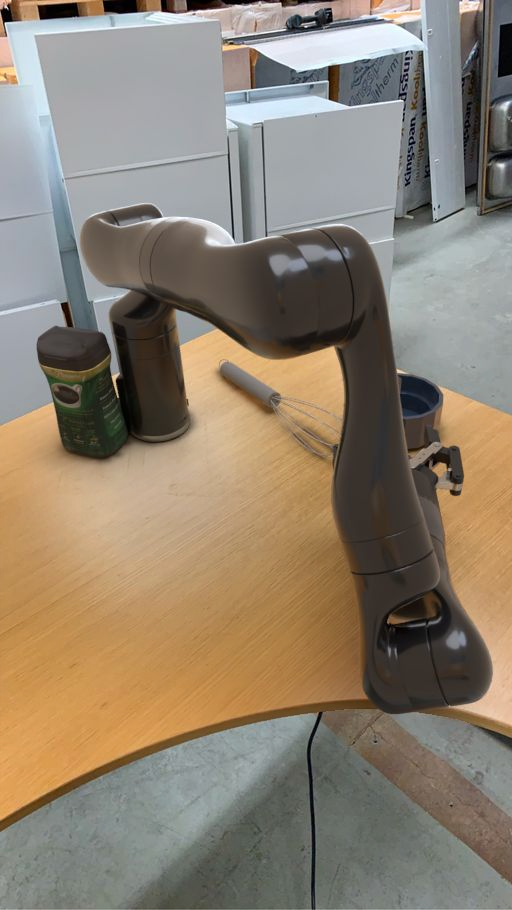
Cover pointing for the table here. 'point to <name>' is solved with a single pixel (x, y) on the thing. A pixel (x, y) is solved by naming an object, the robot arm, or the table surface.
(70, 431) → the coffee jar
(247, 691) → the table surface
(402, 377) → the bowl
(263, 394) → the kitchen whisk
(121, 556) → the table surface
